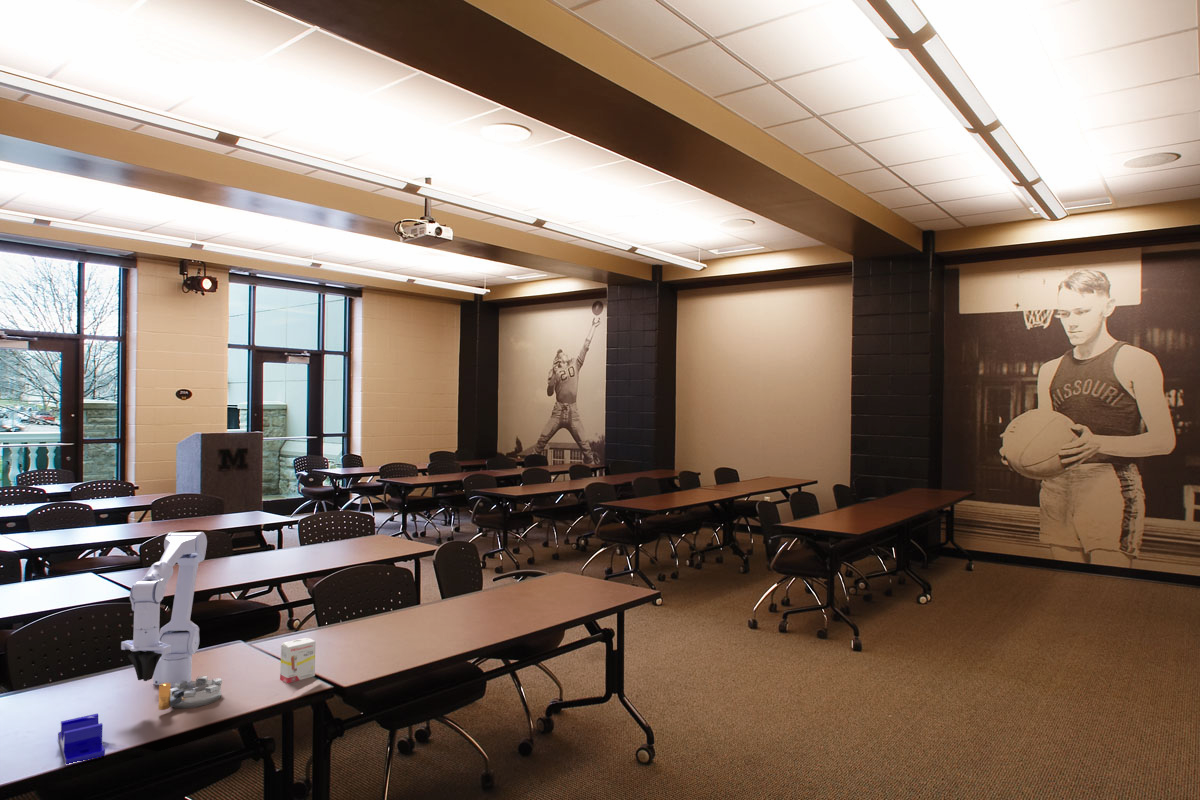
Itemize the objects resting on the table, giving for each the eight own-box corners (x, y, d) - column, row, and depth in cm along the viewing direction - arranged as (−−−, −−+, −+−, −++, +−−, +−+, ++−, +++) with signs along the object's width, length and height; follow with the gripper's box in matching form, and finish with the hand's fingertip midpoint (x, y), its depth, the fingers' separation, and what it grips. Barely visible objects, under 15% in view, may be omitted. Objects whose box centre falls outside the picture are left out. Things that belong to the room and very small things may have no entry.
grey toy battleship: (195, 688, 202) (196, 661, 202) (231, 693, 198) (231, 666, 199) (141, 712, 185) (141, 683, 185) (178, 718, 182) (179, 689, 182)
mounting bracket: (104, 758, 164) (105, 731, 165) (65, 767, 160) (66, 740, 160) (94, 731, 178) (95, 707, 178) (58, 739, 173) (59, 714, 173)
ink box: (286, 688, 206) (287, 646, 207) (279, 683, 210) (280, 643, 210) (315, 680, 213) (316, 640, 213) (307, 676, 216) (308, 636, 216)
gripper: (110, 628, 185) (109, 681, 185) (155, 633, 181) (153, 688, 181) (135, 621, 192) (134, 672, 192) (178, 626, 188) (177, 678, 188)
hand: (145, 679), depth 187 cm, fingers closed
